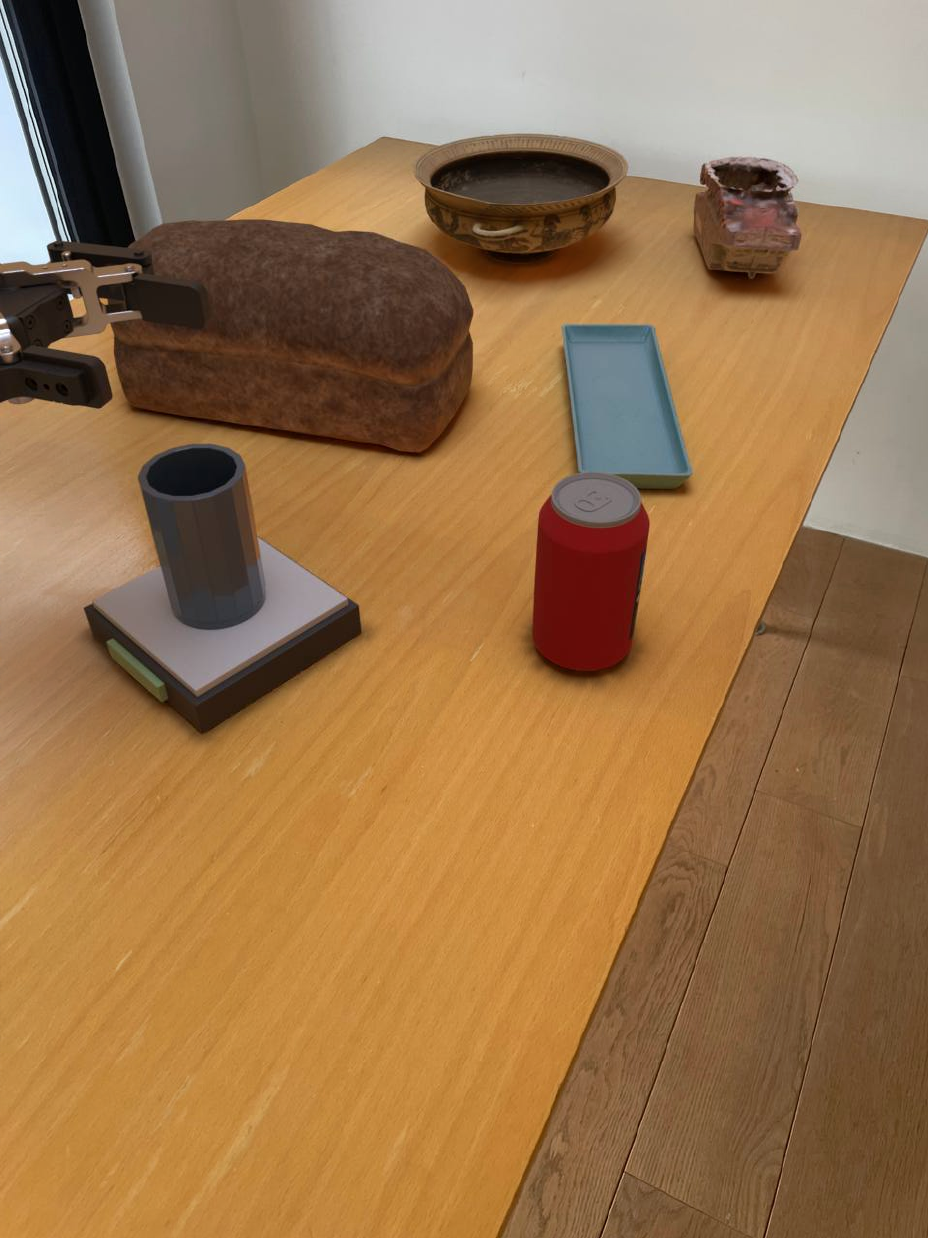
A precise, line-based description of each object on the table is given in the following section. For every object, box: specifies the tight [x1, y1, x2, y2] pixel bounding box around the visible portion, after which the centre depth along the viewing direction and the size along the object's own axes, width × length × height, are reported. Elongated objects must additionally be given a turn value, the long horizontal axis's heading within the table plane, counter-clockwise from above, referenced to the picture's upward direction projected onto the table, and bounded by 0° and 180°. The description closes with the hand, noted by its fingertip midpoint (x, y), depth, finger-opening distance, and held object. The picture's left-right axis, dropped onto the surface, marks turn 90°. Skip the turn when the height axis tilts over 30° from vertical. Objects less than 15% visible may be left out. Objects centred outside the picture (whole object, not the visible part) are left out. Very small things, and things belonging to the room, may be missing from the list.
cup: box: [137, 443, 266, 630], centre depth 63 cm, size 6×6×10 cm
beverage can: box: [531, 472, 650, 672], centre depth 64 cm, size 7×7×12 cm
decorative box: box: [692, 156, 803, 280], centre depth 113 cm, size 13×20×10 cm, turn 172°
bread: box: [106, 218, 474, 453], centre depth 88 cm, size 15×32×16 cm, turn 73°
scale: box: [83, 535, 362, 735], centre depth 68 cm, size 14×13×3 cm
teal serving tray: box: [561, 323, 694, 490], centre depth 90 cm, size 26×9×2 cm, turn 179°
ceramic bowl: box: [412, 133, 629, 265], centre depth 116 cm, size 30×24×10 cm
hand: (158, 342), depth 47 cm, fingers open, 8 cm apart
